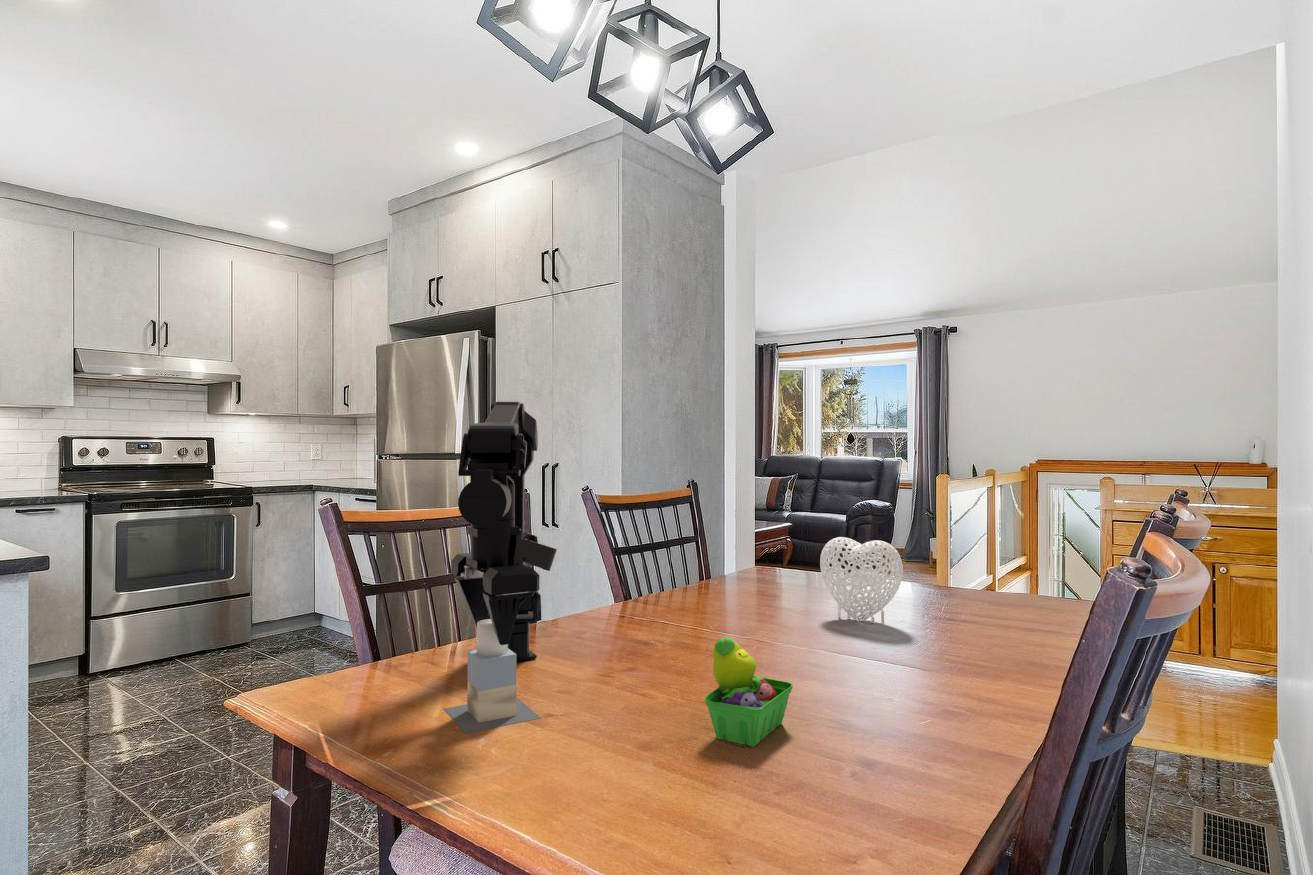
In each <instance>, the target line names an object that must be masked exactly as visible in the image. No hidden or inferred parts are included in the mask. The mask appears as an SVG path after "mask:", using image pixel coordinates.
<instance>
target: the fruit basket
mask: <svg viewBox="0 0 1313 875" xmlns="http://www.w3.org/2000/svg"><path fill="white" fill-rule="evenodd" d="M712 658H713V666H712V667H713V668H712V672H713V676H714V679H715V682H716V683H717V684H718V686H719V687H717V688H716V689H714V690H713V691H711V692H710V693H708V694H707V695H705V696H704V698H703V699H704V700H705V704H706V706H707V709H708V712H709V716H710V719H711V722H712V726H713V729H714V733H715V734H714V735H715V737H716V739H719V740H725V741H728V742H731V743H735V744H736V743H737V744H740V745H747V746H749V747H756V746H757V745H758V744H759V743H760V741H762V740H764V739H765V738H766V737H767V736H768V735H769V734H771V733H772V732H773V731H774V730H776V728H778V727H779V726H780V725H782V723H783V720H784V717H785V712H786V710H787V705H788V701H789V697H790V695H791V693H792V690H793V687H794V684H793V683H792V682H789V681H784V680H780V679H779V680H778V679H774V678H768V677H762V676H758V675H755V672H756V669H757V662H756V660H755V659H754V657H753V656H751V655H750V654H749V653H748V652H747V651H746V650H745V649H744V648H743V647H741V646H740V645H739V644H738V643H737V642H736V641H734V640H733V639H732V638H730V637H722V638H721V637H720V638H718V639H717V641H716V642H715V643H714V648H713V651H712Z"/></svg>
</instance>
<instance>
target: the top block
mask: <svg viewBox="0 0 1313 875" xmlns="http://www.w3.org/2000/svg"><path fill="white" fill-rule="evenodd" d="M517 662H518V661H517V654H515V653H514V652H513V651H511V650H510V649H508V652H507V653H506V654H504V655H500V656H492V657H486V656H480V655H478V654H477V648H476V649H471V650H470V649H469V650H467V683H468V682H470V683H471V684H472V685H473V686H474V687H475V688H476V689H477V690H478V691H483V690H489V689H495V688H501V687H506V686H512V685H516V686H517Z"/></svg>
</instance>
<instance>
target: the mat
mask: <svg viewBox="0 0 1313 875" xmlns="http://www.w3.org/2000/svg"><path fill="white" fill-rule="evenodd" d="M443 710H444V711H445V712H446V714H448V715H449V717H450V718H451V719H452V720H453V722H455V724H456V725H457V726H458V727H459V728H460V729H461V730H462V731H463V733H464V734H465V735H466V734H471V733H474V732H481V731H486V730H490V729H495V728H500V727H505V726H510V725H515V724H520V723H524V722H529V721H534V720H541V719H542V717H541V716H540V715H538V714H537V712H536V711H534V710H532V709H531V708H530V707H529V706H528V705H526V704H525V703H524V702H523V701H522V700H520V698H518V697H517V696H516V716H511V717H506V718H501V719H496V720H490V721H485V722H480V723H479V722H478V721H477V720H476V719H475V718H474V717H473V716H472V715H471V714H470V713H469V712H468V711H467V703H466V704H462V705H455V706H450V707H446V708H443Z"/></svg>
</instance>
